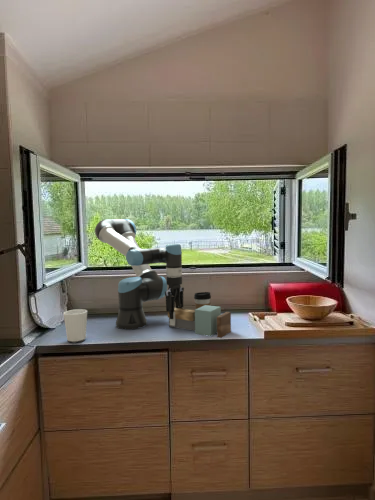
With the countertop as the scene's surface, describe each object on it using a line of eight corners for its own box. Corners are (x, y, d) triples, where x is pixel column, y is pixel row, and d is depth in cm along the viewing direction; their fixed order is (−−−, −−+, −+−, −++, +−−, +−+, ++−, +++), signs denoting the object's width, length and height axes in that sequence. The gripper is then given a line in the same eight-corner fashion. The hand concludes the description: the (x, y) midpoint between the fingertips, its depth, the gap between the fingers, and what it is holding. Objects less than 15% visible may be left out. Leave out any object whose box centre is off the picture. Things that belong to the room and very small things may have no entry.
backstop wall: (217, 337, 149) (216, 316, 148) (226, 331, 157) (226, 311, 157) (221, 337, 148) (221, 317, 147) (230, 331, 156) (230, 312, 156)
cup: (91, 341, 147) (89, 312, 146) (67, 346, 142) (65, 315, 141) (85, 335, 156) (84, 307, 155) (62, 339, 151) (61, 311, 150)
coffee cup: (210, 324, 168) (209, 294, 167) (193, 324, 170) (192, 294, 169) (212, 320, 176) (211, 291, 175) (196, 319, 178) (195, 291, 177)
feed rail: (169, 326, 167) (168, 317, 167) (171, 325, 169) (171, 316, 169) (195, 330, 159) (195, 321, 159) (198, 329, 161) (198, 320, 161)
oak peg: (167, 317, 166) (167, 309, 166) (172, 315, 169) (172, 307, 169) (192, 321, 159) (192, 312, 158) (197, 318, 162) (196, 310, 162)
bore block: (195, 333, 155) (194, 309, 154) (205, 327, 163) (205, 305, 163) (211, 336, 151) (210, 311, 150) (221, 330, 159) (220, 306, 158)
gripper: (170, 279, 155) (171, 329, 157) (190, 274, 170) (191, 320, 172) (157, 278, 159) (158, 327, 161) (177, 273, 174) (178, 318, 175)
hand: (175, 324), depth 166 cm, fingers closed on oak peg, 4 cm apart
